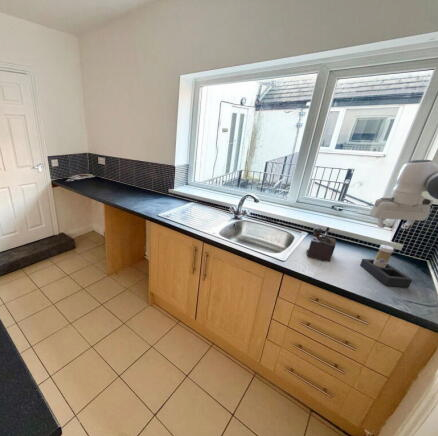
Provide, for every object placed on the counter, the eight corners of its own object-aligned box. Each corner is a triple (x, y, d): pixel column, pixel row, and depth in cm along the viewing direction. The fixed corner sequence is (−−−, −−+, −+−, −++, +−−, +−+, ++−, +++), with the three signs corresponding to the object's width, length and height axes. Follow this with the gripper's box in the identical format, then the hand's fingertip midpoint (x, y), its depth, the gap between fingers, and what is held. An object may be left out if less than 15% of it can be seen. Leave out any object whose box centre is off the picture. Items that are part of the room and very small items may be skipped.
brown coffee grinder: (307, 248, 137) (316, 218, 130) (331, 254, 131) (341, 223, 124) (303, 259, 125) (312, 228, 118) (329, 267, 119) (340, 234, 112)
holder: (379, 267, 120) (382, 260, 118) (408, 287, 104) (412, 279, 103) (359, 265, 121) (362, 258, 119) (385, 285, 105) (389, 277, 104)
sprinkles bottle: (371, 272, 115) (382, 247, 110) (369, 267, 119) (379, 243, 114) (384, 275, 113) (395, 250, 108) (381, 270, 117) (392, 245, 112)
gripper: (383, 199, 102) (372, 229, 107) (438, 201, 100) (424, 232, 104) (372, 195, 108) (362, 224, 113) (423, 197, 105) (411, 226, 110)
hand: (392, 228), depth 109 cm, fingers open, 8 cm apart
